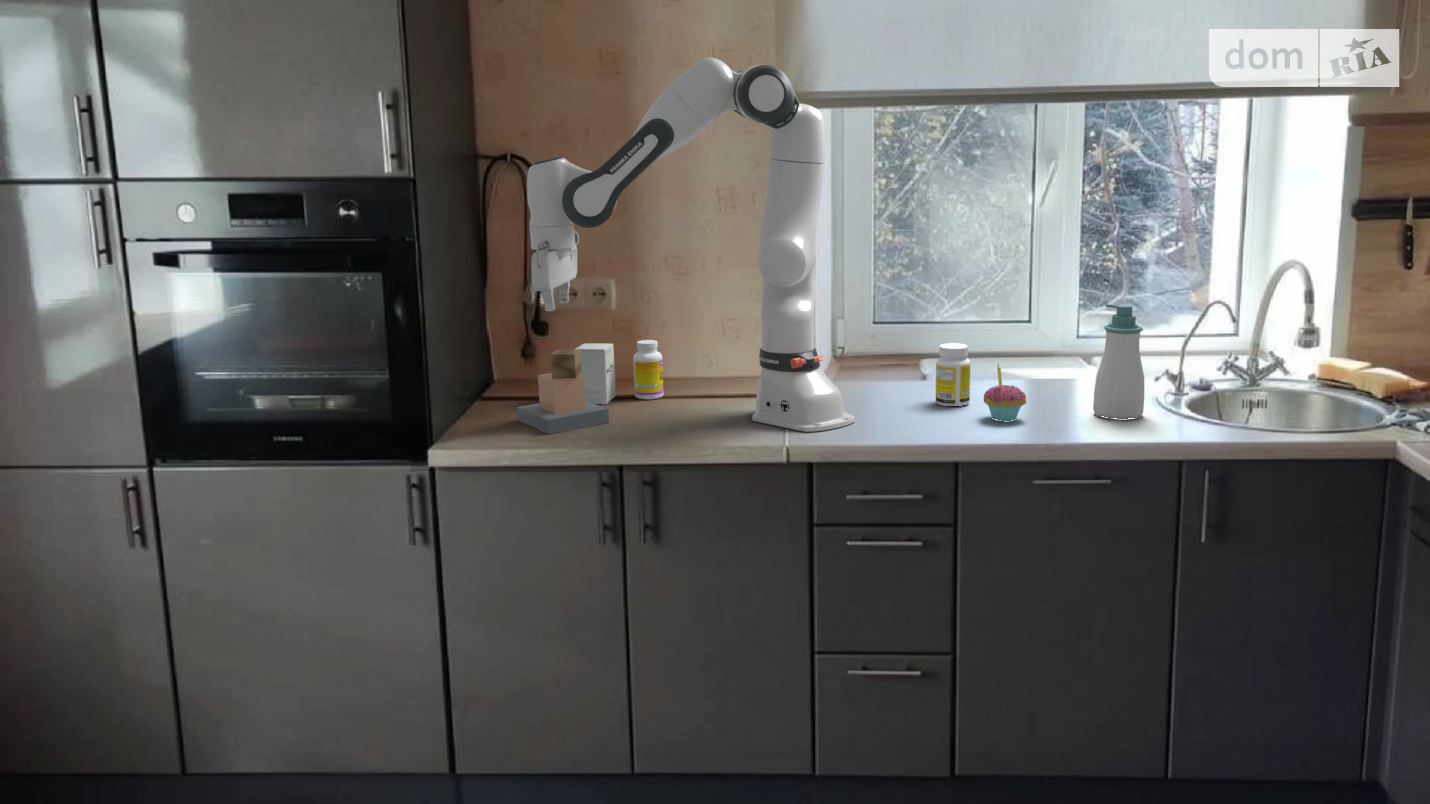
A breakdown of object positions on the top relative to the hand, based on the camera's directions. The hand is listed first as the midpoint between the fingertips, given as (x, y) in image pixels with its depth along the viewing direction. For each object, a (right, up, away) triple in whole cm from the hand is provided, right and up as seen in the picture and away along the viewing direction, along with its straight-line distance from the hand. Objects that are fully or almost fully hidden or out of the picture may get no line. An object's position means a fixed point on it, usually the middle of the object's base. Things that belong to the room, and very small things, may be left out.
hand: (557, 306), depth 235 cm
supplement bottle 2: (+84, -20, +14) cm, 88 cm away
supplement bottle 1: (+17, -19, +26) cm, 36 cm away
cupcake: (+92, -23, 0) cm, 95 cm away
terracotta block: (0, -21, +5) cm, 22 cm away
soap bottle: (+116, -23, +1) cm, 118 cm away
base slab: (0, -24, +6) cm, 25 cm away
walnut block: (+2, -14, +3) cm, 15 cm away
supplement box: (+6, -19, +24) cm, 31 cm away
